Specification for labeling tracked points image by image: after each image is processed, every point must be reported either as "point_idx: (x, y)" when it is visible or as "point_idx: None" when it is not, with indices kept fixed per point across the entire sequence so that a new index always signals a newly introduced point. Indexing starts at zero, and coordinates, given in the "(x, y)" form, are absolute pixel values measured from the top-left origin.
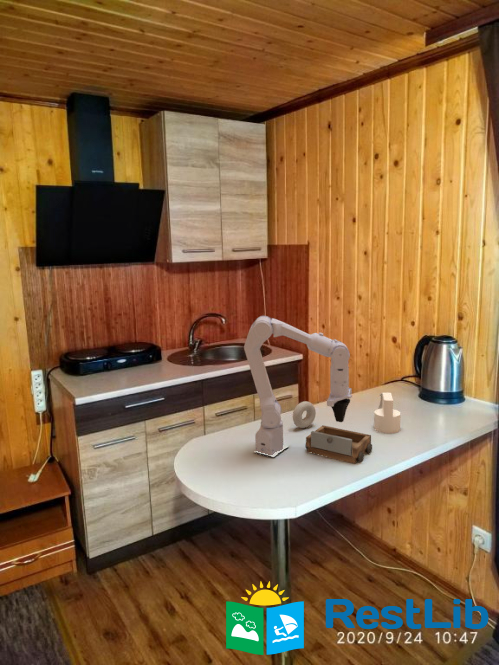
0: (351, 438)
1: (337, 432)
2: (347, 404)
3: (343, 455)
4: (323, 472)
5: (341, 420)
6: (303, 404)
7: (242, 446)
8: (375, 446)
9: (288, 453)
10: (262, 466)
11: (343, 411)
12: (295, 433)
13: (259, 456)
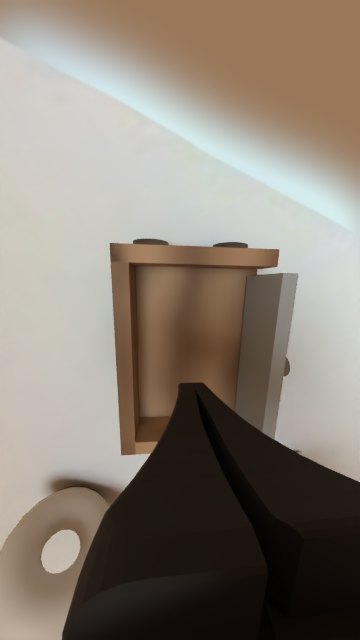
0: (135, 325)
1: (134, 385)
2: (200, 484)
3: None
4: (327, 319)
5: (207, 390)
6: (48, 630)
7: None
8: (89, 249)
9: None
10: (344, 448)
11: (243, 428)
12: None
13: None
